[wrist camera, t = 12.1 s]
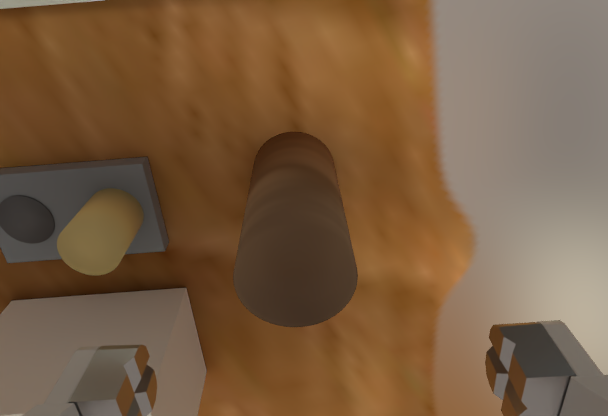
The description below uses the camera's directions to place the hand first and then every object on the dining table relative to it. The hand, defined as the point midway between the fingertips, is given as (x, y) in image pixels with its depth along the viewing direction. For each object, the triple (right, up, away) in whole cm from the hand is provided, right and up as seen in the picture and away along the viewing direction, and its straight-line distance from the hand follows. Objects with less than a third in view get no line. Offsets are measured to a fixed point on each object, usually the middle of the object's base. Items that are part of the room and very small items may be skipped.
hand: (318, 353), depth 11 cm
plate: (-11, +3, +10) cm, 15 cm away
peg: (-1, +5, +9) cm, 11 cm away
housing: (-11, -4, +14) cm, 18 cm away
